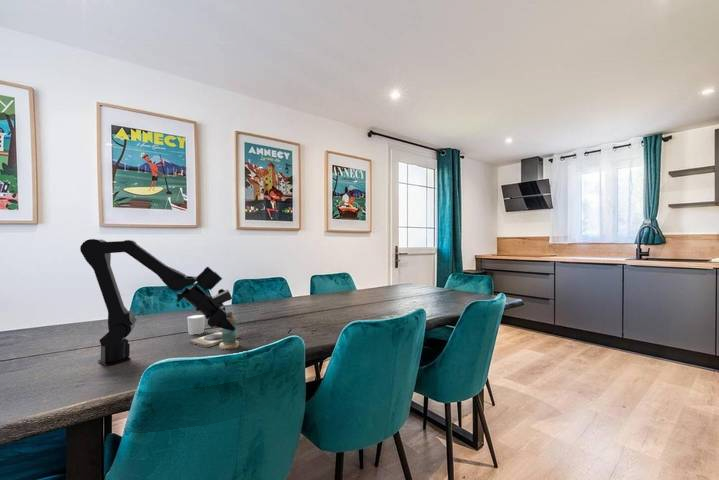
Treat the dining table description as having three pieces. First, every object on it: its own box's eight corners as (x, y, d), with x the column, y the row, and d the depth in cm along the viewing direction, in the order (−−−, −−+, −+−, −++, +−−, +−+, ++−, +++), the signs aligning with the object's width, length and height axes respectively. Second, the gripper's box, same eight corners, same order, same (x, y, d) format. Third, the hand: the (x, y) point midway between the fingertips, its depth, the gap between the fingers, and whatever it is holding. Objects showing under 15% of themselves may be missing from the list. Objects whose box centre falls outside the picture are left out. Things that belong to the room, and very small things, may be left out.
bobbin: (227, 350, 111) (227, 315, 111) (215, 347, 114) (215, 312, 114) (242, 345, 117) (243, 311, 117) (230, 342, 120) (231, 309, 120)
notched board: (206, 347, 114) (206, 340, 114) (189, 342, 119) (189, 336, 119) (238, 337, 126) (238, 331, 126) (222, 333, 131) (222, 327, 131)
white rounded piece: (200, 335, 128) (200, 318, 128) (183, 335, 129) (183, 318, 129) (208, 330, 135) (208, 314, 135) (192, 330, 135) (192, 314, 135)
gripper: (219, 286, 105) (253, 316, 110) (217, 280, 122) (246, 306, 127) (192, 312, 102) (228, 342, 107) (193, 302, 119) (225, 328, 123)
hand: (233, 327), depth 116 cm, fingers closed on bobbin, 5 cm apart
